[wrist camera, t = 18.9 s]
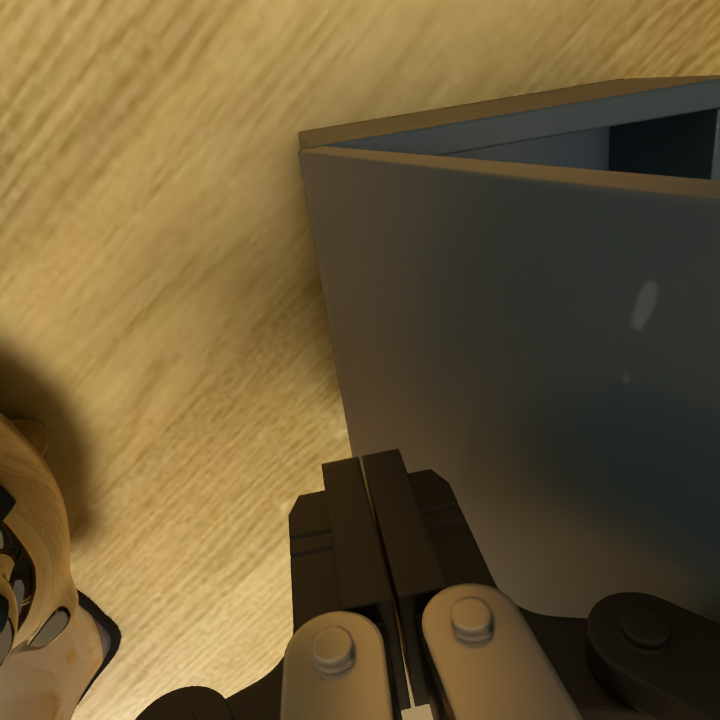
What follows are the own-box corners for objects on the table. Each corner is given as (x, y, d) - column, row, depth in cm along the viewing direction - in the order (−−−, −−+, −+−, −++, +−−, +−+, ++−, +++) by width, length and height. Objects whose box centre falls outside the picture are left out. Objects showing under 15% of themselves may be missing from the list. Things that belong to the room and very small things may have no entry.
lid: (973, 199, 5) (911, 222, 4) (759, 945, 9) (723, 976, 9) (324, 145, 16) (296, 150, 16) (381, 495, 21) (360, 504, 20)
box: (620, 78, 23) (747, 74, 17) (609, 349, 28) (706, 422, 22) (297, 131, 22) (310, 146, 16) (345, 401, 27) (368, 492, 21)
